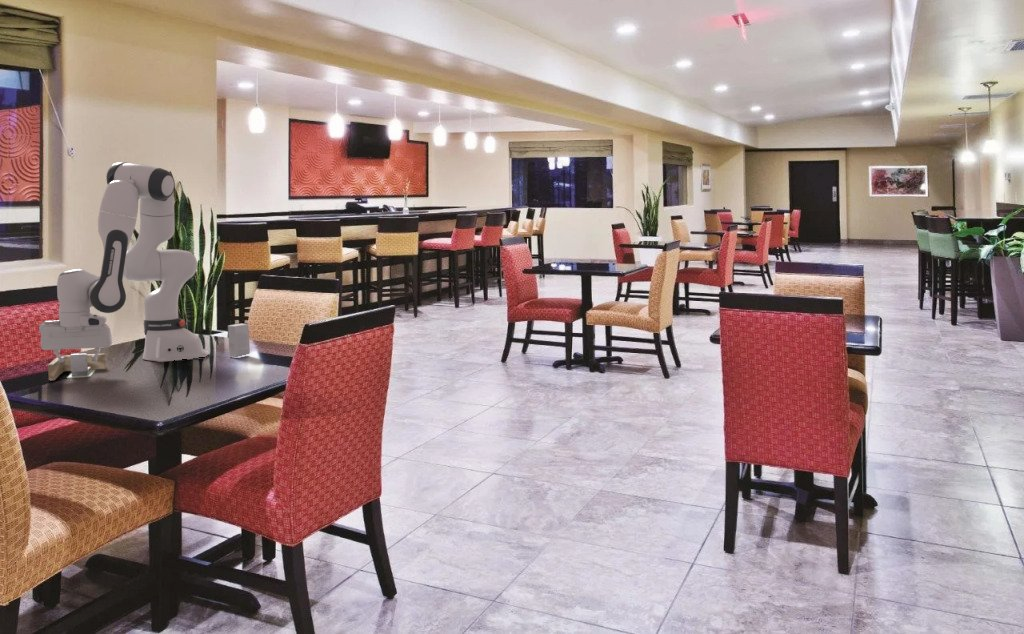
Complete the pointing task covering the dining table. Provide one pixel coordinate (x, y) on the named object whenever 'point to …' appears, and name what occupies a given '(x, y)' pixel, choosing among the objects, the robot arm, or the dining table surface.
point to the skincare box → (238, 340)
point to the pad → (81, 376)
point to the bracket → (79, 365)
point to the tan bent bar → (58, 368)
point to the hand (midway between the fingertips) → (78, 362)
